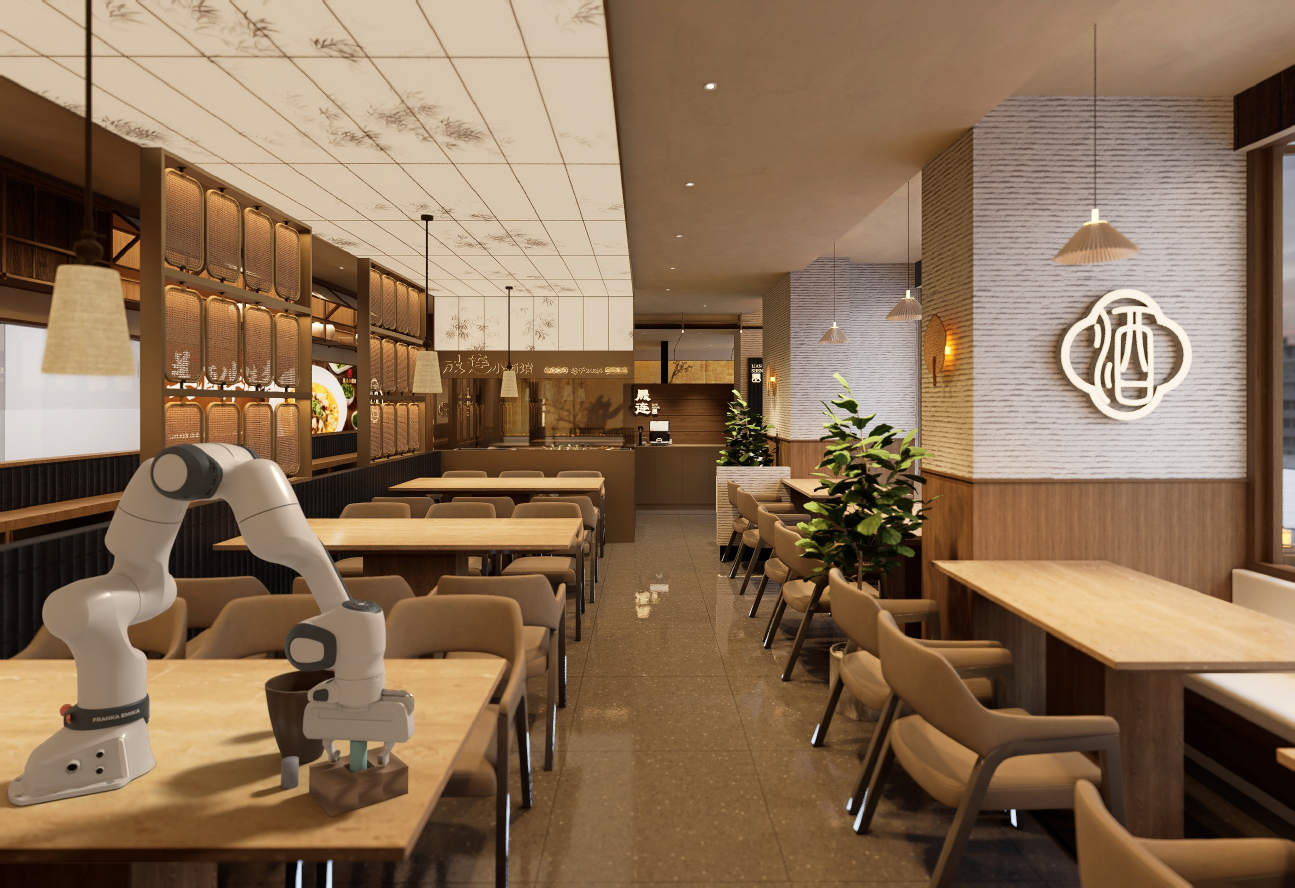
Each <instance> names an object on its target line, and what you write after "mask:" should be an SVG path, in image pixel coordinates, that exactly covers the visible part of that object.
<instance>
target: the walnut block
mask: <svg viewBox="0 0 1295 888" xmlns="http://www.w3.org/2000/svg"><path fill="white" fill-rule="evenodd" d="M386 748H387V747H384V745H382V746H379V747H375V748H370V749H367V769H364V770H361V771H357V772H354V773H350V754H348V755H344V756H340V760H339V761H338V762H337V763H329V762H328V760H324V761H321V762H318V763H316V762H315V763H314V764H310V765H309V766H308V768H309V769H308V771H309V772H308V775H309V777H308V793H309V794H310V795H311V796H312V797H313V799H314V800H315V801H316V802H317V803H318V805H320V807H321V808H322V810H324V811H325V812H326V814H327V815H328V816H329V817H330V818H332V817H336V816H339V815H343V814H345V813H348V812H351V811H354V810H358V809H361V808H364V807H369V806H371V805H374V804H378V803H380V802H381V803H382V802H383V801H387V800H390V799H393V798H397V797H400V796H403V795H406V794H408V793H409V765H407V763H405V762H404V761H403V760H401V759H400V758H399V757H398V756H397V755H395V754H394V753H393V752H392V751H390V753H389V762H388V763H387V765H378V755H379V754H380V753H381V752H385V750H386Z"/></svg>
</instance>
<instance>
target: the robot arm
mask: <svg viewBox="0 0 1295 888" xmlns="http://www.w3.org/2000/svg"><path fill="white" fill-rule="evenodd" d="M218 499H222V500H224V501H226V502H227V503H228V504H229V506H230V508H231V509H232V513H233V515H234V518H235V521H236V522H237V523H236V524H237V525H238V529H239V532H240V534H241V537H242V540H243V542H244V543H245V545H246V546H247V548H248V549H249V550H250V553H252V554H253V555H254V556H256V557H257V558H259V559H261V560H264V561H266V562H269V563H274V564H279V565H282V566H285V567H287V568H290V569H292V570H294V571H296V572H297V573H298V574H300V576H302V578H303V579H304V580H305V582H306V585H307V586H308V588H309V590H310V592H311V594H312V596H313V598H314V600H315V602H316V604H317V606H318V608H319V611H320V614H319V615H315V616H312V617H310V618H307V619H305V620H302V621H300V622H298V623H297V624H295V625H293V626H292V627H291V628H290V629H289V630H288V632H287V634H286V635H285V639H284V653H285V657H286V660H287V661H288V662H289V664H290V665H291V666H293V668H295V669H296V670H297V671H299V670H301V671H318V670H324V669H328V668H331V669H333V670H334V671H335V678H332V679H328V680H326V681H324V682H322V683H320V684H318V685H317V686H315V687H314V688H312V689H311V690H310V691H309V692H308V700H309V701H310V702H309V703H308V704H307V706H306V708H305V712H304V719H303V733H304V735H305V736H306V738H308V739H323V746H324V748H325V749H324V751H326V753H327V754H328V756H327V757H328V760H327V761H328V762H329V763H337V762H338V761H339V760H340V757H341V753H342V751H341V749H340V750H339V749H337V748H336V746H335V744H334V742H335V741H350V740H351V741H367V742H376V743H378V742H379V743H383V746H384V747H385V748H386V750H385V752H381V753H380V754H379V755H378V765H387V763H388V762H389V753H390V752H392V750H393V748H394V746H395V745H396V743H401V744H402V743H406V742H407V741H409V740H410V739H411V738H412V736H413V735H414V733H415V731H416V729H415V728H416V727H415V725H416V724H415V714H414V710H415V697H414V696H413V694H411V693H410V692H408V691H407V690H405V689H400V690H395V689H386V666H385V662H384V656H385V652H386V646H387V645H386V644H387V643H386V642H387V633H386V632H387V630H386V620H385V614H384V611H383V608H382V607H381V605H379V604H377V602H374V601H371V600H367V599H366V600H365V599H354V598H353V596H352V594H351V592H350V591H349V589H348V586H347V585H346V582H345V581H344V579H343V578H342V574H341V573H340V571H339V569H338V568H337V566H336V564H335V562H334V560H333V558H332V556H331V554H330V552H329V551H328V549H327V547H326V545H325V544H324V542H323V541H322V540H321V539H320V538H319V537H318V535H317V534H316V533H315V531H314V530H313V528H311V526H310V523H309V522H308V520H307V518H306V516H305V514H304V512H303V510H302V507H301V505H300V502H299V500H298V497H297V495H296V493H295V491H294V489H293V487H292V485H291V483H290V481H289V480H288V478H287V476H286V475H285V472H284V471H283V470H282V468H281V466H279V464H278V463H277V462H275V461H273V460H272V459H268V458H262V457H261V456H260V455H259V453H258V452H257V451H255V450H254V449H253V448H251V447H248V446H245V445H242V444H239V443H231V444H230V443H224V442H214V441H213V442H212V441H211V442H205V443H199V442H198V443H179V444H175V445H171V446H168V447H166V448H164V449H162V450H161V451H159V452H158V453H157V454H156V455H155V457H151V458H148V459H146V460H144V461H143V462H142V463H141V464H140V466H139V467H138V468H137V470H136V471H135V472H134V474H133V476H132V477H131V479H130V481H129V482H128V484H127V486H126V487H125V489H124V492H123V493H122V495H121V497H120V500H119V503H118V505H117V508H116V509H115V512H114V514H113V516H112V519H111V521H110V524H109V527H108V529H107V532H106V534H105V537H104V544H105V546H106V548H107V550H108V551H109V552H110V553H111V554H112V555H113V556H114V560H113V561H114V562H113V565H112V568H111V569H110V570H109V572H108V573H106V574H103V575H98V576H94V577H89V578H83V579H79V580H76V581H74V582H71V583H69V584H67V585H65V586H62V587H60V588H58V589H56V590H54V591H53V592H51V593H50V594H49V595H48V597H47V598H46V599H45V600H44V603H43V607H42V611H41V613H42V614H41V615H42V621H43V624H44V626H45V628H46V629H47V631H48V632H49V633H50V634H51V635H53V636H54V637H56V638H58V639H59V640H61V641H63V643H65V644H66V645H67V646H68V647H67V648H68V649H69V650H70V652H71V653H72V656H73V658H74V662H75V667H76V683H77V684H76V686H77V691H76V692H77V700H76V701H77V703H75V704H74V705H71V704H70V703H65V704H63V705H61V707H60V708H59V714H60V716H61V717H63V719H62V721H63V727H61V728H60V729H59V730H57V731H56V732H55V733H54V734H53V735H51V736H50V737H47V739H46V740H44V741H43V742H41V743H40V744H39V745H38V746H36V747H35V748H34V749H33V750H32V752H31V753H30V754H29V756H28V758H27V761H26V763H25V766H24V770H23V773H22V774H21V775H18V776H17V777H15V778H14V779H13V780H11V782H10V783H9V785H8V788H7V799H8V801H9V802H10V803H12V804H13V805H17V806H27V805H33V804H39V803H44V802H50V801H55V800H56V801H57V800H62V799H68V798H73V797H78V796H84V795H89V794H94V793H95V794H96V793H101V792H106V791H111V790H116V789H120V788H122V787H124V786H126V785H127V784H128V783H129V782H131V781H133V780H134V779H136V778H138V777H140V776H143V775H144V774H146V773H147V772H149V771H151V770H152V769H153V768H154V767H155V765H156V759H155V757H154V754H153V751H152V747H151V742H150V737H149V736H150V735H149V728H148V724H149V721H150V716H151V715H150V714H151V713H150V712H151V699H150V695H149V693H148V691H147V689H148V658H147V656H146V654H145V653H144V652H143V651H142V650H140V649H138V648H137V647H133V646H132V644H131V642H130V638H129V634H128V627H129V626H133V625H136V624H140V623H144V622H147V621H149V620H152V619H153V618H156V617H157V616H159V615H160V614H162V613H164V612H165V611H167V610H169V609H170V608H171V607H172V605H173V604H174V603H175V601H176V599H177V595H178V586H177V583H176V581H175V578H174V577H173V575H171V574H170V573H169V560H170V555H171V551H172V549H173V546H174V543H175V540H176V537H177V535H178V532H179V530H180V528H181V525H182V523H183V519H184V517H185V515H186V512H187V509H188V507H189V505H190V503H191V502H193V501H214V500H215V501H216V500H218Z"/></svg>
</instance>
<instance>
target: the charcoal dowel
mask: <svg viewBox="0 0 1295 888" xmlns="http://www.w3.org/2000/svg"><path fill="white" fill-rule="evenodd" d="M280 763H281V765H280V789H281V790H284V791H285V790H286V791H287V790H293V789H295V788H297V787H298V786H299V775H300V773H299V771H300V770H299V769H300V766H299V765H300V764H299V757H296V756H290V757H286V758H284V759H283V758H282V759H281V762H280Z"/></svg>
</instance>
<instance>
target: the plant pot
mask: <svg viewBox="0 0 1295 888" xmlns="http://www.w3.org/2000/svg"><path fill="white" fill-rule="evenodd" d="M332 678H335V671H334V670H327V669H324V670H318V671H301V670H293V671H289V672H284V673H281V674H278V675H276V676H273V677H271V678H270V679H268V680H267V681H265V683H264V690H265V697H266V698H265V699H266V705H267V711H268V716H269V722H270V725H271V728H272V732H273V735H274V738H275V742H276V744H277V747H278V750H279V752H280V755H281V757H282V759H284V758H286V757H290V756H296V757H299V765H300V764H302V765H303V764H306V763H307V764H308V763H310V762H313V761H317V760H319V758H322V755H323V754H324V751H325V748H324V746H323V739H308V738H306V736H305V735H304V733H303V719H304V712H305V708H306V706H307V704H308V703H309V702H310V701H309V700H308V692H309V691H310V690H311V689H312V688H314V687H315V686H317V685H318V684H320V683H322V682H324V681H326V680H328V679H332Z"/></svg>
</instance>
